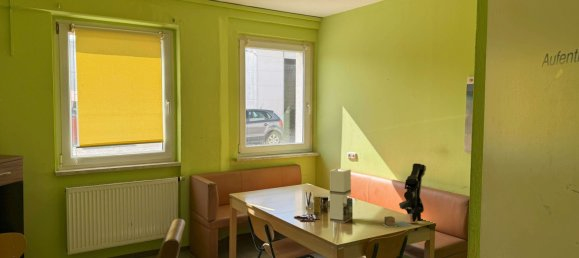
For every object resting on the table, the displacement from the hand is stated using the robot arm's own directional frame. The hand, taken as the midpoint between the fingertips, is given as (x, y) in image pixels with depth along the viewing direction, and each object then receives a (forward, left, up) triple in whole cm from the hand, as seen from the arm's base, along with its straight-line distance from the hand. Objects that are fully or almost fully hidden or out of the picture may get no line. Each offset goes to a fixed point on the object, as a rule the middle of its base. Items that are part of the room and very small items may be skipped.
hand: (411, 220), depth 284 cm
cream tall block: (-22, -42, -3) cm, 48 cm away
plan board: (0, -12, -3) cm, 12 cm away
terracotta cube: (0, 0, -1) cm, 1 cm away
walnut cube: (0, -16, -2) cm, 16 cm away
